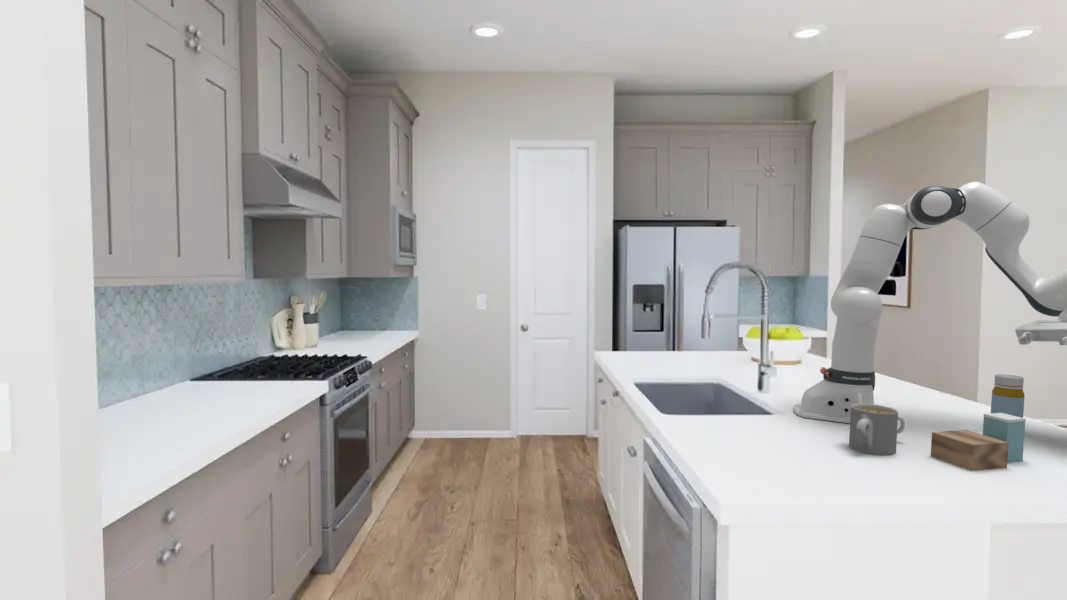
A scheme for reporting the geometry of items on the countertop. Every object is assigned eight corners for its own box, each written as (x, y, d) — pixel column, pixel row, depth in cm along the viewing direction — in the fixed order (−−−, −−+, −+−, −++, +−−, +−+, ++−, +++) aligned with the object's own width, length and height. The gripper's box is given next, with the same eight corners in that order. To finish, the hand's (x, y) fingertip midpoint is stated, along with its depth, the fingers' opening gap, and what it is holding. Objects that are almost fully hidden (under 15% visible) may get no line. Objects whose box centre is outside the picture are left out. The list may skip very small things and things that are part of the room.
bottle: (1010, 426, 164) (1013, 374, 163) (1028, 433, 157) (1032, 379, 156) (983, 425, 165) (987, 373, 164) (1001, 432, 158) (1004, 378, 157)
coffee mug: (864, 440, 148) (866, 402, 148) (904, 451, 140) (906, 411, 139) (831, 447, 142) (833, 407, 141) (871, 459, 133) (873, 417, 133)
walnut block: (971, 471, 127) (973, 444, 127) (930, 457, 137) (931, 432, 136) (1006, 468, 129) (1008, 442, 129) (964, 454, 139) (965, 429, 139)
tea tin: (1005, 462, 133) (1008, 420, 132) (981, 455, 138) (983, 414, 137) (1022, 460, 134) (1025, 418, 134) (998, 453, 139) (1000, 412, 139)
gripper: (1035, 312, 154) (995, 330, 152) (1126, 309, 134) (1082, 329, 132) (1042, 334, 154) (1003, 352, 152) (1135, 334, 134) (1091, 355, 132)
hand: (1041, 342), depth 141 cm, fingers open, 8 cm apart
